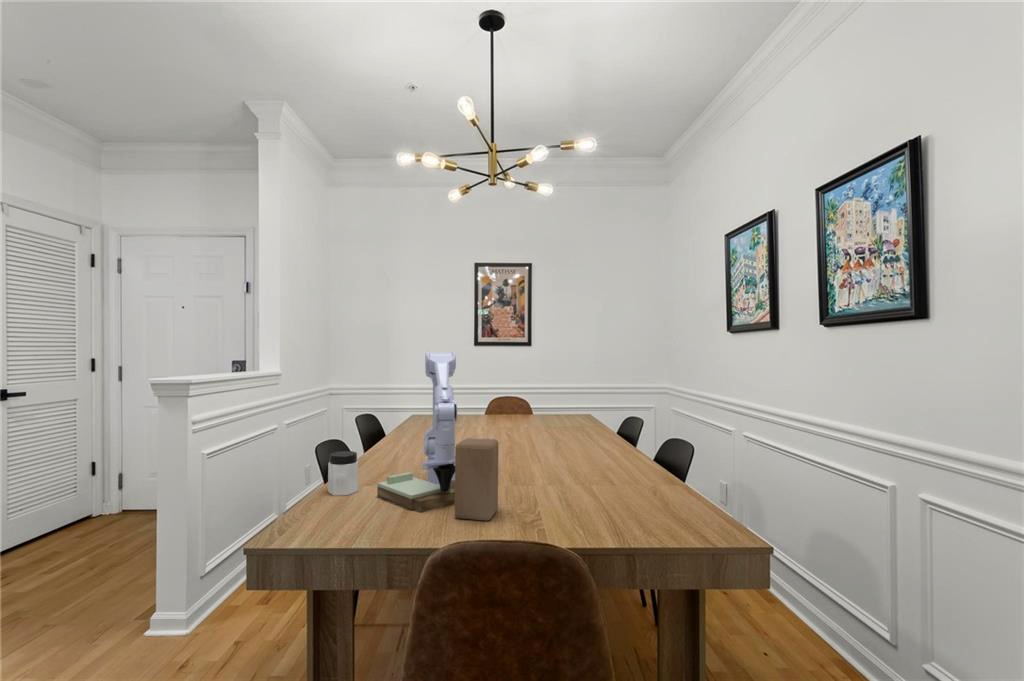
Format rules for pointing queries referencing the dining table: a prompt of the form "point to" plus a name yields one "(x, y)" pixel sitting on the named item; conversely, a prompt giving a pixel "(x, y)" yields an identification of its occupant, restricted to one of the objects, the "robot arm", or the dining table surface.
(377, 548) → the dining table surface
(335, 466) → the jar
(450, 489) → the pale grey block
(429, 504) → the brown wooden tray
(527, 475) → the dining table surface
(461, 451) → the block
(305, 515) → the dining table surface
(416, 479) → the lid
